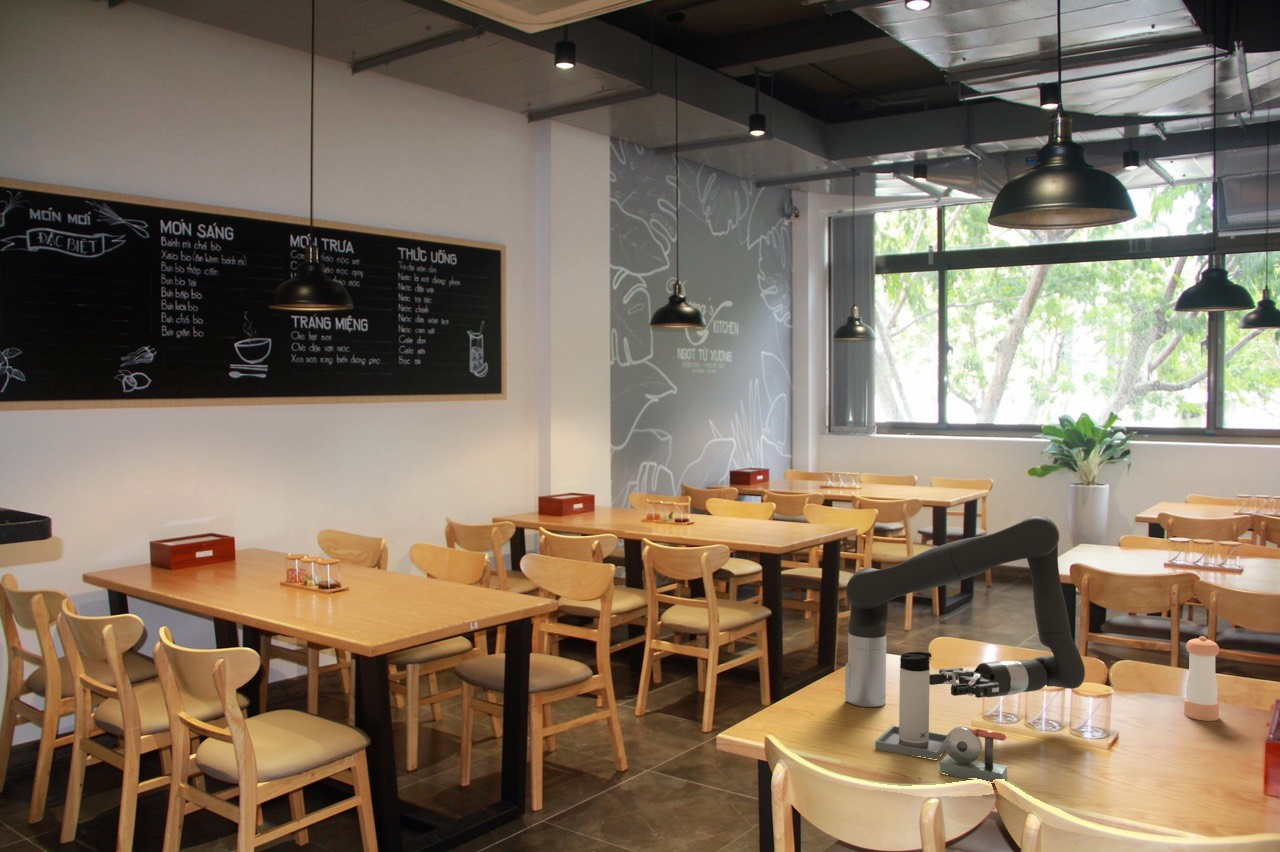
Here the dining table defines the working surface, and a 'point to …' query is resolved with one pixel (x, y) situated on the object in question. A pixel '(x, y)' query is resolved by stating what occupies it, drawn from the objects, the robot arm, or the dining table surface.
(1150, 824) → the dining table surface
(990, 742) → the crank stand
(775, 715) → the dining table surface
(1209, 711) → the salt shaker
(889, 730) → the tray
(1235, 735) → the dining table surface
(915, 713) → the travel mug
